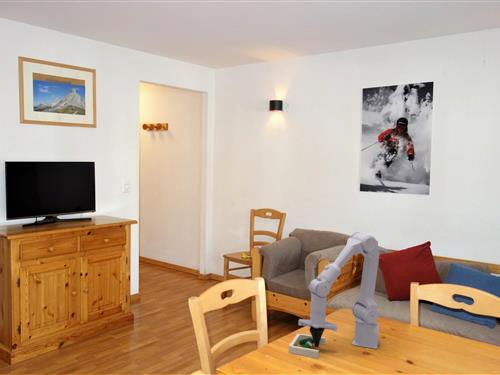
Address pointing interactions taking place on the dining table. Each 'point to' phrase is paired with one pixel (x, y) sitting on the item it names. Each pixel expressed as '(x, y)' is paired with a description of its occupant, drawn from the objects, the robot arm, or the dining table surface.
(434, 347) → the dining table surface
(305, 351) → the controller dock
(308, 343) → the gaming controller
